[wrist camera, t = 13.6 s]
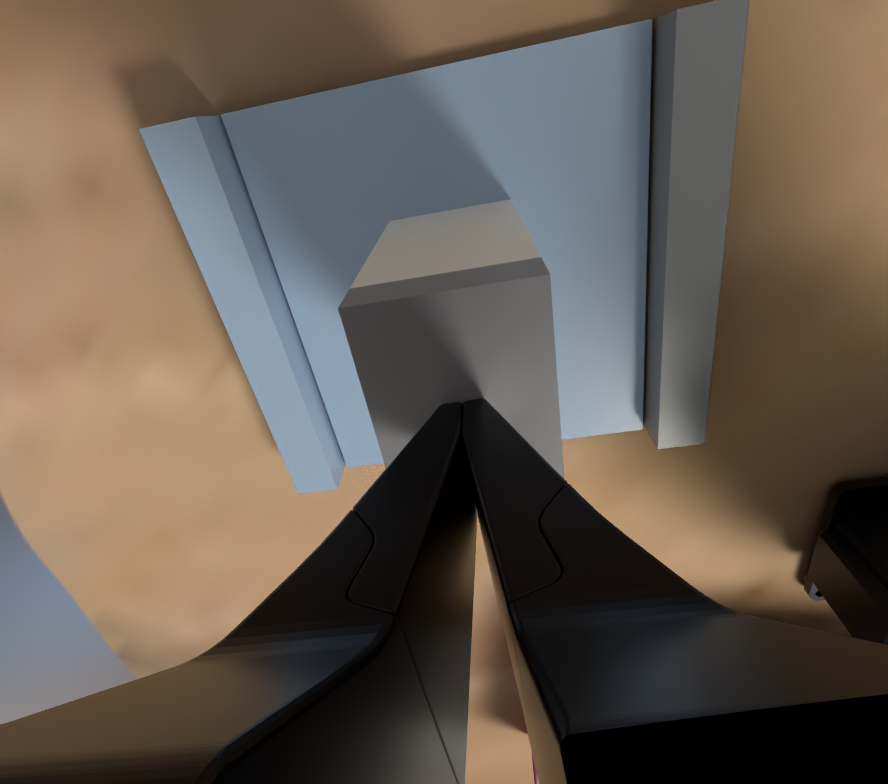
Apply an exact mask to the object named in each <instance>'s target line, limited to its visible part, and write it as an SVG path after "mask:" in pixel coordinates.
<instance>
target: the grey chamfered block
mask: <svg viewBox="0 0 888 784" xmlns="http://www.w3.org/2000/svg"><path fill="white" fill-rule="evenodd" d="M338 311H339V314H340V317H341V321H342V324H343V327H344V331H345V334H346V337H347V341H348V344H349V347H350V351H351V354H352V357H353V361H354V364H355V367H356V371H357V374H358V377H359V381H360V384H361V387H362V391H363V394H364V397H365V401H366V404H367V407H368V411H369V414H370V418H371V421H372V424H373V428H374V431H375V434H376V438H377V441H378V444H379V448H380V451H381V454H382V458H383V461H384V464H385V468H387V467H388V466H389V465H390V464H391V462H392V461H393V460H394V459H395V458H396V456H397V455H398V454H399V453H400V452H401V451H402V449H403V448H404V447H405V446H406V445H407V443H408V442H409V441H410V440H411V439H412V438H413V436H414V435H415V434H416V433H417V432H418V431H419V429H420V428H421V427H422V426H423V425H424V423H425V422H426V421H427V420H428V419H429V418H430V416H431V415H432V414H433V413H434V412H435V411H436V409H437V408H438V407H439V406H440V405H441V404H445V403H452V402H461V403H462V404H463V403H464V402H465V401H467V400H473V399H480V398H484V399H486V400H487V401H488V402H489V403H490V404H491V405H492V406H493V407H494V408H495V409H496V410H497V411H498V412H499V413H500V414H501V415H502V416H503V417H504V418H505V419H506V420H507V421H508V422H509V423H510V424H511V425H512V426H513V427H514V428H515V430H516V431H517V432H518V433H519V434H520V435H521V436H522V437H523V438H524V439H525V440H526V441H527V442H528V443H529V444H530V445H531V446H532V447H533V448H534V449H535V450H536V451H537V452H538V453H539V454H540V455H541V456H542V457H543V458H544V459H545V460H546V461H547V462H548V463H549V464H550V465H551V466H552V467H553V468H554V469H555V470H556V471H557V472H558V473H559V474H560V475H561V476H562V477H563V478H564V467H563V453H562V438H561V424H560V409H559V394H558V380H557V365H556V351H555V336H554V322H553V307H552V293H551V278H550V273H549V271H548V269H547V267H546V265H545V263H544V261H543V259H542V257H541V256H540V254H539V252H538V250H537V248H536V246H535V244H534V242H533V240H532V238H531V236H530V235H529V233H528V231H527V229H526V227H525V225H524V223H523V221H522V219H521V217H520V215H519V213H518V212H517V210H516V208H515V206H514V204H513V202H512V200H511V199H509V200H503V201H498V202H492V203H487V204H481V205H475V206H470V207H464V208H459V209H453V210H448V211H442V212H436V213H431V214H425V215H420V216H414V217H409V218H403V219H398V220H392V221H389V223H388V225H387V226H386V228H385V230H384V231H383V233H382V235H381V236H380V238H379V240H378V241H377V243H376V245H375V247H374V248H373V250H372V252H371V253H370V255H369V257H368V258H367V260H366V262H365V263H364V265H363V267H362V268H361V270H360V272H359V273H358V275H357V277H356V279H355V280H354V282H353V284H352V285H351V287H350V289H349V290H348V292H347V294H346V295H345V297H344V299H343V300H342V302H341V304H340V305H339V307H338ZM477 516H478V513H477Z"/></svg>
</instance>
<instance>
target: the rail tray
mask: <svg viewBox="0 0 888 784" xmlns="http://www.w3.org/2000/svg"><path fill="white" fill-rule="evenodd" d="M748 9H749V0H716V1H712V2H707V3H703V4H698V5H694V6H689V7H685V8H680V9H676V10H674V11H672V12H669V13H667V14H665V15H662V16H660V17H658V18H655V19H653V57H652V98H651V139H650V179H649V137H650V94H651V52H652V19H648V20H644V21H639V22H635V23H630V24H626V25H621V26H617V27H612V28H608V29H603V30H599V31H594V32H590V33H585V34H581V35H576V36H572V37H567V38H563V39H558V40H554V41H549V42H545V43H540V44H536V45H531V46H527V47H522V48H517V49H513V50H508V51H504V52H499V53H495V54H490V55H486V56H481V57H477V58H472V59H468V60H463V61H459V62H454V63H450V64H445V65H441V66H436V67H432V68H427V69H423V70H418V71H414V72H409V73H405V74H400V75H396V76H391V77H387V78H382V79H378V80H373V81H369V82H364V83H360V84H355V85H350V86H346V87H341V88H337V89H332V90H328V91H323V92H319V93H314V94H310V95H305V96H301V97H296V98H292V99H287V100H283V101H278V102H274V103H269V104H265V105H260V106H256V107H251V108H247V109H242V110H238V111H233V112H229V113H224V114H221V115H212V116H195V117H190V118H186V119H181V120H177V121H172V122H168V123H163V124H159V125H154V126H150V127H145V128H141V129H139V131H140V133H141V136H142V138H143V140H144V143H145V145H146V147H147V149H148V152H149V154H150V156H151V159H152V161H153V163H154V165H155V168H156V170H157V172H158V175H159V177H160V179H161V181H162V184H163V186H164V188H165V191H166V193H167V195H168V197H169V200H170V202H171V204H172V207H173V209H174V211H175V213H176V216H177V218H178V220H179V223H180V225H181V227H182V229H183V232H184V234H185V236H186V239H187V241H188V243H189V245H190V248H191V250H192V252H193V255H194V257H195V259H196V261H197V264H198V266H199V268H200V271H201V273H202V275H203V278H204V280H205V282H206V284H207V287H208V289H209V291H210V294H211V296H212V298H213V300H214V303H215V305H216V307H217V310H218V312H219V314H220V316H221V319H222V321H223V323H224V326H225V328H226V330H227V332H228V335H229V337H230V339H231V342H232V344H233V346H234V348H235V351H236V353H237V355H238V358H239V360H240V362H241V364H242V367H243V369H244V371H245V374H246V376H247V378H248V380H249V383H250V385H251V387H252V390H253V392H254V394H255V396H256V399H257V401H258V403H259V406H260V408H261V410H262V413H263V415H264V417H265V419H266V422H267V424H268V426H269V429H270V431H271V433H272V435H273V438H274V440H275V442H276V445H277V447H278V449H279V451H280V454H281V456H282V458H283V461H284V463H285V465H286V467H287V470H288V472H289V474H290V477H291V479H292V481H293V483H294V486H295V488H296V490H297V493H298V494H303V493H311V492H319V491H327V490H335V489H338V486H339V483H340V480H341V476H342V473H343V470H344V467H345V464H346V466H347V468H349V467H356V466H364V465H372V464H379V463H384V461H383V458H382V454H381V451H380V448H379V444H378V441H377V438H376V434H375V431H374V428H373V424H372V421H371V418H370V414H369V411H368V407H367V404H366V401H365V397H364V394H363V391H362V387H361V384H360V381H359V377H358V374H357V371H356V367H355V364H354V361H353V357H352V354H351V351H350V347H349V344H348V341H347V337H346V334H345V331H344V327H343V324H342V321H341V317H340V314H339V311H338V307H339V305H340V304H341V302H342V300H343V299H344V297H345V295H346V294H347V292H348V290H349V289H350V287H351V285H352V284H353V282H354V280H355V279H356V277H357V275H358V273H359V272H360V270H361V268H362V267H363V265H364V263H365V262H366V260H367V258H368V257H369V255H370V253H371V252H372V250H373V248H374V247H375V245H376V243H377V241H378V240H379V238H380V236H381V235H382V233H383V231H384V230H385V228H386V226H387V225H388V223H389V221H392V220H398V219H403V218H409V217H414V216H420V215H425V214H431V213H436V212H442V211H448V210H453V209H459V208H464V207H470V206H475V205H481V204H487V203H492V202H498V201H503V200H509V199H511V200H512V202H513V204H514V206H515V208H516V210H517V212H518V213H519V215H520V217H521V219H522V221H523V223H524V225H525V227H526V229H527V231H528V233H529V235H530V236H531V238H532V240H533V242H534V244H535V246H536V248H537V250H538V252H539V254H540V256H541V257H542V259H543V261H544V263H545V265H546V267H547V269H548V271H549V273H550V278H551V293H552V307H553V322H554V336H555V351H556V365H557V380H558V394H559V409H560V424H561V438H562V440H565V439H572V438H580V437H588V436H596V435H603V434H611V433H619V432H626V431H634V430H642V429H643V391H644V426H645V428H646V429H647V431H648V433H649V435H650V436H651V438H652V440H653V442H654V443H655V445H656V447H657V449H664V448H672V447H680V446H689V445H697V444H704V442H705V432H706V422H707V412H708V403H709V393H710V383H711V373H712V363H713V353H714V344H715V334H716V324H717V314H718V304H719V294H720V285H721V275H722V265H723V255H724V245H725V235H726V226H727V216H728V206H729V196H730V186H731V176H732V167H733V157H734V147H735V137H736V127H737V117H738V108H739V98H740V88H741V78H742V68H743V58H744V49H745V39H746V29H747V19H748ZM648 179H649V220H648ZM647 221H648V261H647ZM646 264H647V302H646ZM645 306H646V342H645ZM644 349H645V383H644Z"/></svg>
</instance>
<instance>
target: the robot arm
mask: <svg viewBox="0 0 888 784" xmlns="http://www.w3.org/2000/svg"><path fill="white" fill-rule="evenodd" d="M477 513H478V518H479V523H480V528H481V532H482V537H483V541H484V545H485V550H486V554H487V558H488V563H489V567H490V571H491V576H492V580H493V584H494V589H495V593H496V597H497V602H498V606H499V610H500V615H501V619H502V623H503V628H504V632H505V636H506V641H507V645H508V649H509V654H510V658H511V662H512V667H513V671H514V675H515V680H516V684H517V688H518V693H519V697H520V701H521V706H522V710H523V714H524V719H525V723H526V727H527V732H528V736H529V740H530V745H531V749H532V753H533V758H534V762H535V766H536V771H537V775H538V779H539V784H888V477H881V478H872V479H863V480H854V481H846V482H842V483H840V484H838V485H836V486H835V487H833V488H832V490H831V491H830V494H829V497H828V501H827V505H826V508H825V512H824V515H823V519H822V523H821V526H820V530H819V534H818V537H817V541H816V544H815V548H814V552H813V555H812V559H811V562H810V566H809V570H808V573H807V577H806V581H805V584H804V590H805V591H806V592H807V594H808V595H809V597H810V598H811V599H813V600H826V601H827V603H828V604H829V605H830V607H831V608H832V609H833V611H834V612H835V614H836V615H837V616H838V618H839V619H840V620H841V622H842V623H843V624H844V626H845V627H846V628H847V630H848V631H849V633H850V634H851V635H852V637H849V636H844V635H839V634H834V633H830V632H825V631H820V630H816V629H811V628H806V627H801V626H797V625H792V624H787V623H783V622H778V621H773V620H768V619H764V618H759V617H754V616H750V615H746V614H742V613H739V612H737V611H734V610H731V609H729V608H727V607H725V606H723V605H721V604H719V603H717V602H715V601H714V600H712V599H711V598H709V597H707V596H706V595H704V594H703V593H701V592H700V591H698V590H697V589H696V588H694V587H693V586H691V585H690V584H689V583H687V582H686V581H685V580H684V579H682V578H681V577H680V576H678V575H677V574H676V573H674V572H673V571H672V570H671V569H669V568H668V567H667V566H665V565H664V564H663V563H661V562H660V561H659V560H658V559H656V558H655V557H654V556H652V555H651V554H650V553H648V552H647V551H646V550H645V549H643V548H642V547H641V546H639V545H638V544H637V543H636V542H634V541H633V540H632V539H630V538H629V537H628V536H626V535H625V534H624V533H623V532H621V531H620V530H619V529H618V528H617V527H615V526H614V525H613V524H612V523H610V522H609V521H608V520H607V519H606V518H604V517H603V516H602V515H601V514H600V513H599V512H597V511H596V510H595V509H594V508H593V507H592V506H591V505H590V504H589V503H588V502H587V501H586V500H585V499H584V498H583V497H582V496H581V495H580V494H579V493H578V492H577V491H576V490H575V489H574V488H573V487H572V486H571V485H570V484H568V483H567V481H566V480H565V479H564V478H563V477H562V476H561V475H560V474H559V473H558V472H557V471H556V470H555V469H554V468H553V467H552V466H551V465H550V464H549V463H548V462H547V461H546V460H545V459H544V458H543V457H542V456H541V455H540V454H539V453H538V452H537V451H536V450H535V449H534V448H533V447H532V446H531V445H530V444H529V443H528V442H527V441H526V440H525V439H524V438H523V437H522V436H521V435H520V434H519V433H518V432H517V431H516V430H515V428H514V427H513V426H512V425H511V424H510V423H509V422H508V421H507V420H506V419H505V418H504V417H503V416H502V415H501V414H500V413H499V412H498V411H497V410H496V409H495V408H494V407H493V406H492V405H491V404H490V403H489V402H488V401H487V400H486V399H484V398H480V399H473V400H467V401H465V402H464V403H463V404H462V403H461V402H452V403H445V404H441V405H440V406H439V407H438V408H437V409H436V411H435V412H434V413H433V414H432V415H431V416H430V418H429V419H428V420H427V421H426V422H425V423H424V425H423V426H422V427H421V428H420V429H419V431H418V432H417V433H416V434H415V435H414V436H413V438H412V439H411V440H410V441H409V442H408V443H407V445H406V446H405V447H404V448H403V449H402V451H401V452H400V453H399V454H398V455H397V456H396V458H395V459H394V460H393V461H392V462H391V464H390V465H389V466H388V467H387V468H386V469H385V471H384V472H383V473H382V474H381V475H380V476H379V478H378V479H377V480H376V481H375V482H374V484H373V485H372V486H371V487H370V488H369V489H368V491H367V492H366V493H365V494H364V495H363V496H362V498H361V499H360V500H359V501H358V502H357V504H356V505H355V506H354V507H353V510H351V511H350V512H349V513H348V514H347V515H346V516H345V517H344V519H343V520H342V521H341V522H340V523H339V524H338V526H337V527H336V528H335V529H334V530H333V531H332V532H331V533H330V534H329V536H328V537H327V538H326V539H325V540H324V541H323V542H322V543H321V545H320V546H319V547H318V548H317V549H316V550H315V551H314V552H313V553H312V554H311V555H310V556H309V557H308V558H307V559H306V560H305V561H304V562H303V563H302V564H301V565H300V566H299V567H298V568H297V569H296V570H295V571H294V572H293V573H292V574H291V575H290V576H289V577H288V578H287V579H286V580H285V581H284V582H282V583H281V584H280V585H279V586H278V587H277V588H276V589H275V590H274V591H273V592H272V593H271V594H270V595H269V596H268V597H267V598H266V599H265V600H264V601H263V602H262V603H261V604H260V605H259V606H258V607H257V608H256V609H255V610H254V611H253V612H251V613H250V614H249V615H248V616H247V617H246V618H245V619H244V620H243V621H242V622H241V623H240V624H239V625H238V626H237V627H236V628H235V629H234V630H233V631H232V632H230V633H229V634H228V635H227V636H226V637H225V638H224V639H223V640H221V641H220V642H219V643H217V644H216V645H215V646H213V647H212V648H211V649H209V650H208V651H206V652H204V653H203V654H201V655H199V656H198V657H196V658H194V659H192V660H190V661H188V662H186V663H183V664H181V665H178V666H176V667H173V668H170V669H167V670H164V671H161V672H158V673H155V674H152V675H149V676H146V677H143V678H140V679H137V680H134V681H131V682H128V683H126V684H122V685H119V686H116V687H114V688H110V689H107V690H104V691H101V692H98V693H95V694H92V695H89V696H86V697H84V698H80V699H77V700H74V701H71V702H68V703H65V704H62V705H60V706H56V707H54V708H50V709H48V710H44V711H41V712H38V713H36V714H32V715H29V716H27V717H23V718H20V719H17V720H14V721H11V722H8V723H5V724H1V725H0V784H465V765H466V744H467V723H468V701H469V680H470V659H471V638H472V617H473V596H474V574H475V553H476V532H477Z"/></svg>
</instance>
